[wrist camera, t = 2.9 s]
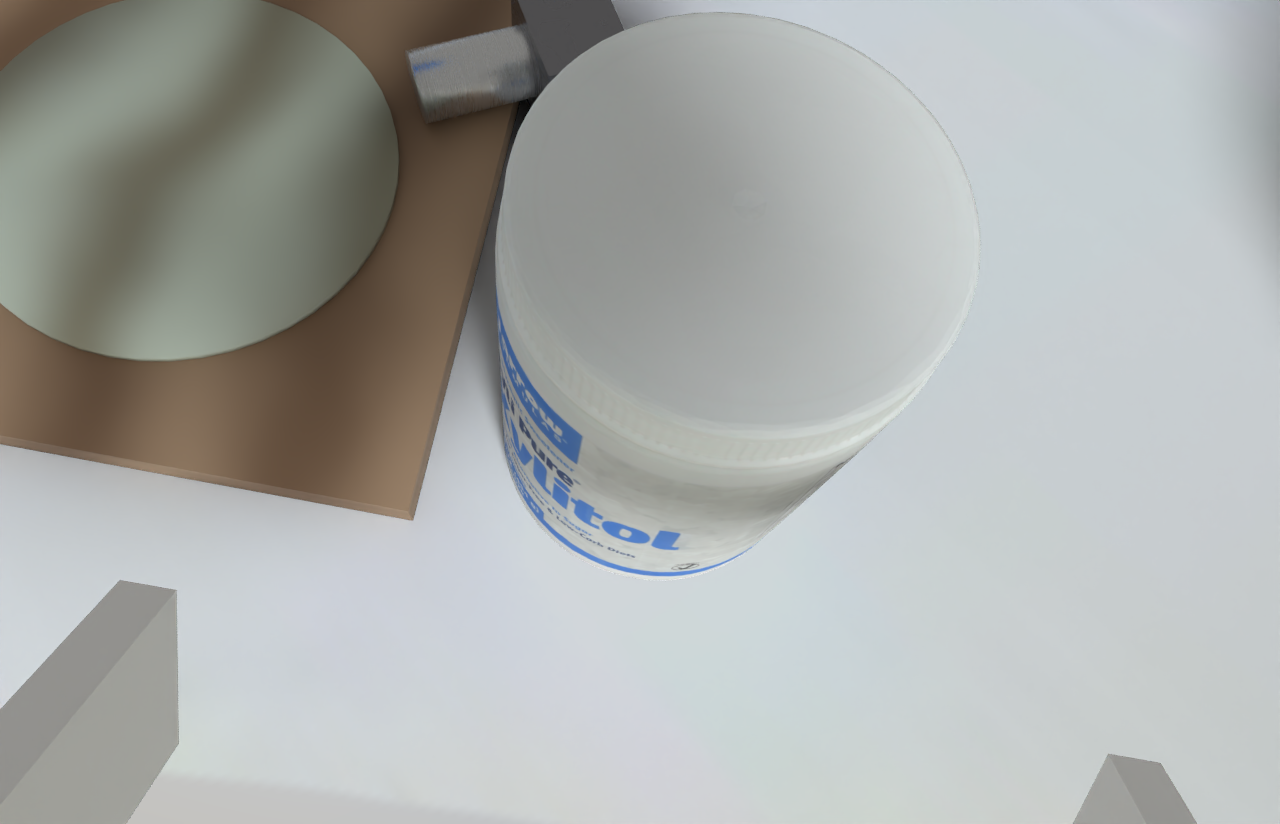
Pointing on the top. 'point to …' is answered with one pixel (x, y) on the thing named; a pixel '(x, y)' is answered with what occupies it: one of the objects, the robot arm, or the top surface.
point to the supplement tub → (717, 283)
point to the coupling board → (238, 238)
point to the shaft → (507, 57)
